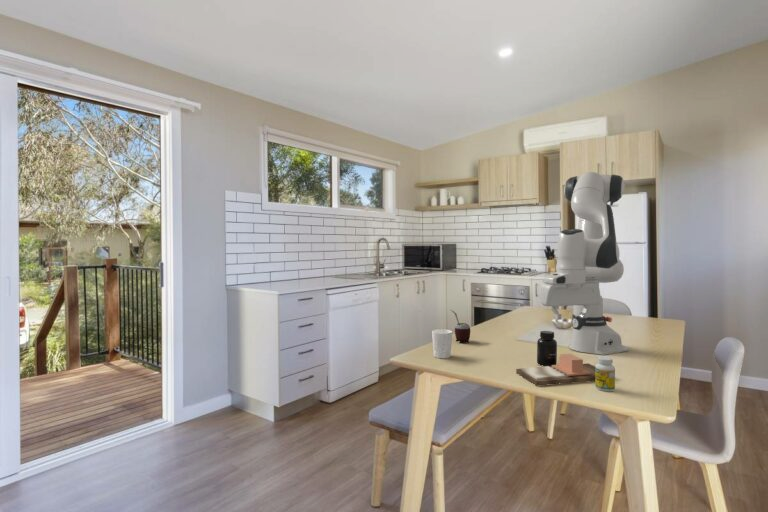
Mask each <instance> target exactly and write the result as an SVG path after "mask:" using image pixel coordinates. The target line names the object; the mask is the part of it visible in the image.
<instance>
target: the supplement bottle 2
mask: <svg viewBox="0 0 768 512" xmlns="http://www.w3.org/2000/svg"><path fill="white" fill-rule="evenodd" d="M597 362H598V363H596V364H595V365H594V366H595V381H594V383H595V386H594V387H595V388H596V390H598V391H600V392H607V393H608V392H610V393H612V392H614V391H615V390H616V367H615V366H614V365H613V364H614V362H613V358H611V357H609V356H598V357H597Z"/></svg>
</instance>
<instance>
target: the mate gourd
mask: <svg viewBox="0 0 768 512" xmlns="http://www.w3.org/2000/svg"><path fill="white" fill-rule="evenodd" d="M450 311H451V312H452V313H453V314H454V316H455V319H456V321H457V323H456V324H455V326H454V334H455V339H456V340H455V342H458V341H460V342H459V343H458V344H463V343H466V342H467V343H468V344H469V343H470V341H469V340H470V337H471V327H470V325H469V324H468V323H464V322H459V318H458V315H457V313H456V312H455V311H454V310H453V309H450ZM467 343H466V344H467Z"/></svg>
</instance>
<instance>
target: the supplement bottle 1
mask: <svg viewBox="0 0 768 512" xmlns="http://www.w3.org/2000/svg"><path fill="white" fill-rule="evenodd" d="M539 333H540V334H539V337H540V338H538V339H537V342H536V343H537V344H536V362H537V363H536V364H537V365H539V364H540V366H542V365H543V366H542V367H545V366H552V365H558V362H557V361H558V360H557V358H558V342H557V340H556V339H554V338H555V332H554V331H552V330H551V331H550V330H541V331H540V332H539Z"/></svg>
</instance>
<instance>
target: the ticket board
mask: <svg viewBox="0 0 768 512" xmlns="http://www.w3.org/2000/svg"><path fill="white" fill-rule="evenodd" d="M595 366H596V365H593V364H590V363H583V369H585V370H587V371H589V372H591V374H588V375H576V376H568V375H567V374H565V373H563V372H561V371H559V370H557V369H555V368H553V367H552V366H535V367H534V366H533V367H521V368H516V369H515V371H516V372H515V373H516V374H517V375H518V374H519V375H518V376H520V377H521V376H522V378H523V379H525V380H526V381H527V382H529V383H531V384H532V383H533V384H532V385H534V384H535V385H534V386H536V387H538V386H537V385H544V386H548V385H547V384H555V385H560V384H559V383H567V384H573V383H572V382H579V383H587V381H590V382H595Z"/></svg>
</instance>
